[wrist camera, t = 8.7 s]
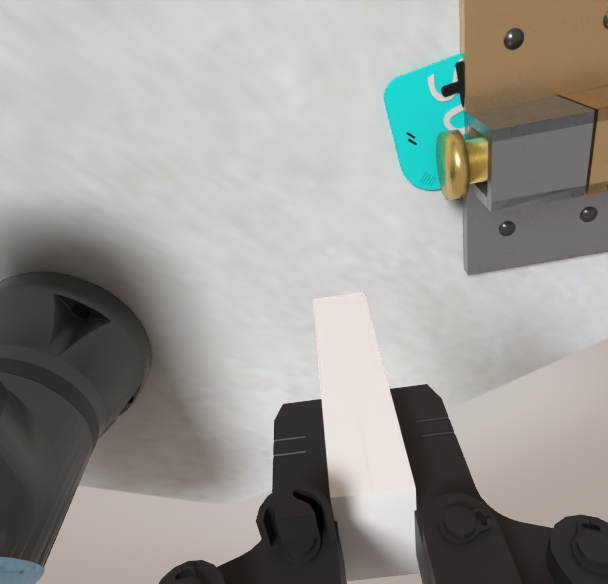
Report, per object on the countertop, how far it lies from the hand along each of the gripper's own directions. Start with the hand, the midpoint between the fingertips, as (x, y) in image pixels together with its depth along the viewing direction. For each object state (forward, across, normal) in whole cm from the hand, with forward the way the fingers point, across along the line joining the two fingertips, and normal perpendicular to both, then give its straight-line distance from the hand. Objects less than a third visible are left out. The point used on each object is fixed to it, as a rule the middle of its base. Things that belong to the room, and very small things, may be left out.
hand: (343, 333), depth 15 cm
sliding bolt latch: (+23, +20, -2) cm, 30 cm away
